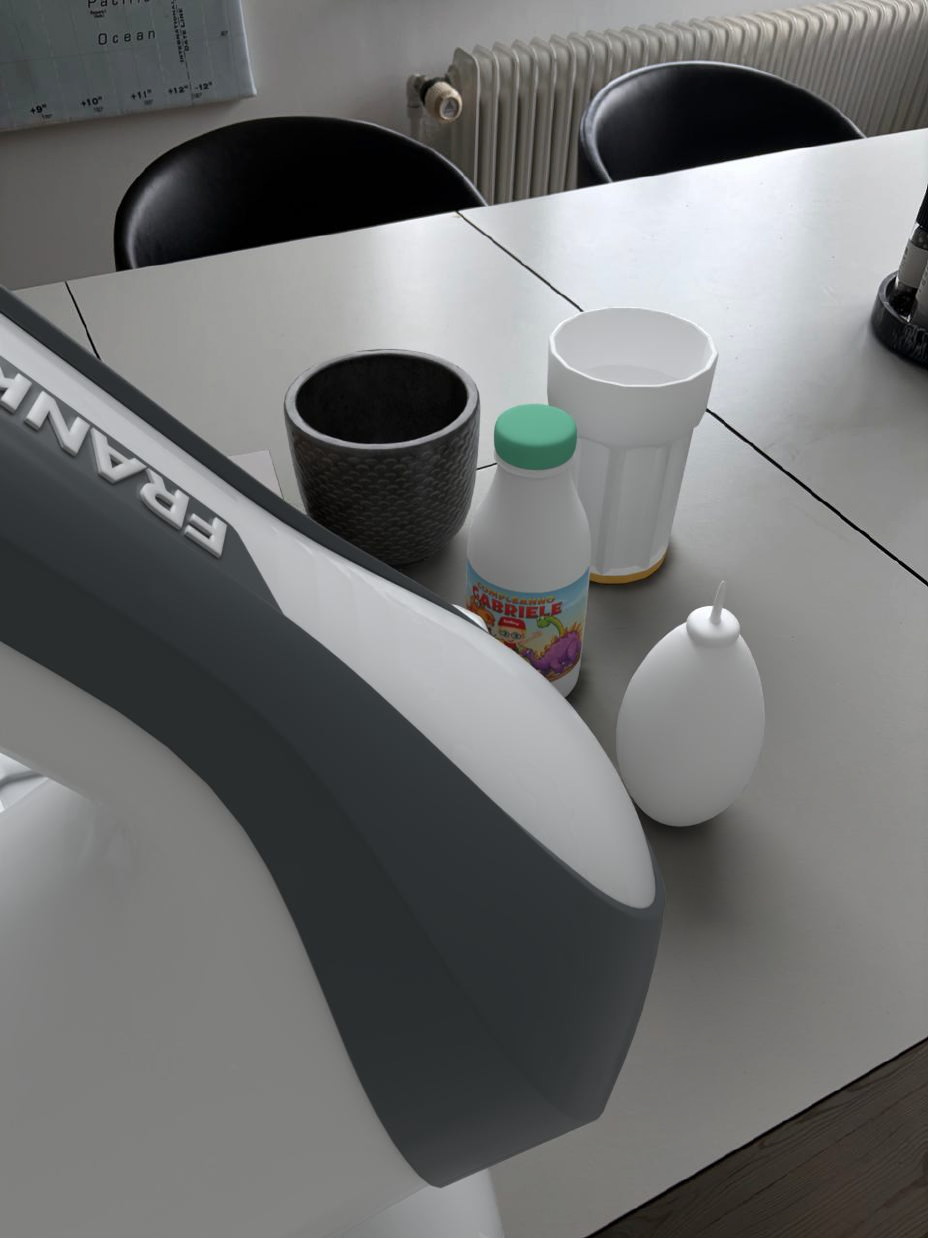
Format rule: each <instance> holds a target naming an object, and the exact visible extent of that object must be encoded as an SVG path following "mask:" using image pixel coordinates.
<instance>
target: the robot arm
mask: <svg viewBox="0 0 928 1238" xmlns="http://www.w3.org/2000/svg"><path fill="white" fill-rule="evenodd" d="M623 783H624V782H623V780H622V779H621V778H620V775H619V773H618V771H617V769H616V768H615V765H614V764H613V763H612V761H611V760H610V758H609V756H608V755H607V753H606V752H605V750H604V748H603V746H602V745H601V744H600V742H599V740H598V738H596V736H595V735H594V733H593V732H592V730H591V729H590V727H589V726H588V725H587V724H586V722H585V721H584V720H583V718H582V717H581V716H580V715H579V714H578V712H577V711H576V709H575V708H574V707H573V706H572V705H571V704H570V703H569V701H568V700H567V699H566V697H565V698H564V697H563V696H562V695H561V694H560V693H559V691H558V690H557V689H556V688H555V687H554V686H553V685H552V684H551V683H550V682H549V681H548V680H547V679H546V678H545V677H544V676H543V675H541V674H540V673H539V672H538V671H537V670H536V669H535V668H533V667H532V666H531V665H530V664H529V663H527V662H526V661H525V660H524V659H523V658H522V657H520V656H519V655H518V654H517V653H516V652H514V651H513V650H511V649H510V648H509V647H507V646H506V645H504V644H503V643H501V642H500V641H498V640H497V639H495V638H494V637H493V636H492V635H491V634H489V632H488V629H487V627H486V625H485V622H484V621H483V619H482V618H481V617H480V616H478V615H476V614H474V613H473V612H471V611H469V610H466V608H464V607H462V606H460V605H457V604H451V603H450V602H448V600H445V599H444V598H443V597H442V596H439V595H438V594H436V593H435V592H433V591H431V590H430V589H429V588H426V586H424V585H422V584H420V583H418V582H417V581H416V580H413V579H412V578H410V577H408V576H407V575H405V574H404V573H402V572H400V571H398V569H393V568H392V567H390V566H388V565H386V564H385V563H383V562H381V561H380V560H378V559H376V558H374V557H373V556H371V555H369V554H367V553H366V552H364V551H362V550H361V549H359V548H357V547H355V546H354V545H352V544H350V543H349V542H347V541H345V540H344V539H342V538H340V537H339V536H337V535H335V534H334V533H332V532H331V531H329V530H327V529H326V528H324V527H323V526H321V525H320V524H318V523H317V522H315V521H314V520H312V519H311V518H309V517H308V516H307V514H305V513H304V512H302V511H301V510H299V509H298V508H296V506H293V504H291V503H290V502H288V501H286V500H285V498H284V499H282V498H281V497H280V496H278V495H277V494H275V493H274V492H273V491H271V490H270V489H269V488H267V487H266V486H265V485H263V484H262V483H261V482H259V481H258V480H257V479H255V478H254V477H253V476H252V475H250V474H249V473H248V472H246V471H245V470H244V469H242V468H241V467H240V466H238V465H237V464H236V463H234V462H233V461H232V460H230V459H229V458H228V456H226V455H225V454H224V453H222V452H221V451H220V450H219V449H217V448H216V447H214V446H213V445H211V444H210V443H209V442H208V441H206V440H205V439H204V438H202V437H201V436H200V435H198V434H197V433H195V432H194V431H193V430H192V429H190V428H189V427H188V426H187V425H185V424H184V423H183V422H182V421H180V420H179V419H178V418H177V417H175V416H174V415H172V414H171V413H170V412H168V411H167V410H166V409H164V408H163V407H162V406H160V404H158V403H157V402H156V401H155V400H153V399H151V398H150V397H149V396H148V395H146V394H145V393H144V392H142V391H141V390H140V389H139V388H138V387H136V386H135V385H134V384H132V383H131V382H130V381H129V380H127V379H126V378H125V377H123V376H122V375H121V374H119V373H118V372H117V371H115V370H114V369H113V368H111V367H110V366H109V365H108V364H107V363H105V362H103V361H102V360H101V359H100V358H98V357H97V356H95V354H93V353H92V352H91V351H90V350H88V349H87V348H85V347H84V346H83V345H82V344H81V343H79V342H78V341H77V340H75V339H74V338H72V337H71V335H69V334H67V333H66V332H65V331H63V330H62V329H61V328H60V327H58V326H57V325H56V324H54V323H53V322H52V321H50V320H49V319H48V318H46V317H45V316H44V315H42V314H41V313H40V312H39V311H38V310H36V309H35V308H33V307H32V306H31V305H29V304H28V303H27V302H25V301H24V300H23V299H22V298H20V297H19V296H18V295H16V293H14V292H13V291H11V290H10V289H9V288H7V287H6V286H5V285H4V284H2V283H1V282H0V1238H506V1236H505V1232H504V1226H503V1222H502V1219H501V1214H500V1209H499V1205H498V1201H497V1196H496V1193H495V1187H494V1184H493V1179H492V1176H491V1171H490V1168H491V1167H493V1166H495V1165H497V1164H500V1163H502V1162H504V1161H507V1160H509V1159H511V1158H513V1157H516V1156H518V1155H520V1154H522V1153H525V1152H527V1151H529V1150H531V1149H535V1148H536V1147H538V1146H540V1145H543V1144H545V1143H548V1142H550V1141H552V1140H554V1139H556V1138H559V1137H561V1136H563V1135H565V1134H568V1133H571V1132H572V1131H574V1130H577V1129H579V1128H582V1127H583V1126H586V1125H588V1124H591V1123H593V1122H595V1121H598V1119H599V1118H601V1116H602V1115H603V1113H604V1111H605V1110H606V1107H607V1104H608V1102H609V1100H610V1098H611V1095H612V1093H613V1090H614V1087H615V1085H616V1084H617V1083H616V1082H617V1081H618V1078H619V1076H620V1073H621V1071H622V1069H623V1066H624V1064H625V1061H626V1059H627V1056H628V1053H629V1051H630V1049H631V1045H632V1042H633V1040H634V1037H635V1034H636V1032H637V1028H638V1026H639V1022H640V1020H641V1016H642V1013H643V1010H644V1006H645V1003H646V1000H647V996H648V992H649V988H650V984H651V980H652V977H653V973H654V968H655V965H656V960H657V956H658V951H659V946H660V941H661V936H662V931H663V923H664V916H665V909H666V904H667V903H666V888H665V883H664V879H663V875H662V871H661V868H660V866H659V863H658V860H657V857H656V855H655V851H654V850H653V848H652V845H651V843H650V841H649V838H648V837H647V835H646V832H645V830H644V828H643V827H642V824H641V820H640V818H639V815H638V813H637V810H636V808H635V806H634V804H633V801H632V799H631V797H630V794H629V792H628V790H627V788H626V786H625V784H623Z"/></svg>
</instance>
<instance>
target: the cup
mask: <svg viewBox="0 0 928 1238" xmlns="http://www.w3.org/2000/svg"><path fill="white" fill-rule="evenodd" d="M547 339H548V341H547V376H546V377H547V379H546V380H547V381H546V396H547V397H546V398H547V405H549V406H553V407H556V408H559V409H561V410H563V411H565V412H566V413H568V414H569V415H570V416H571V417H572V418H573V419H574V421H575V423H576V427H577V442H576V449H575V451H574V452H575V460H574V462H573V464H572V466H571V467H570V473H571V478H572V482H573V485H574V488H575V491H576V493H577V495H578V497H579V500H580V502H581V504H582V506H583V508H584V511H585V513H586V516H587V520H588V523H589V529H590V534H591V564H590V578H589V581H592V582H595V583H598V584H626V583H631V582H635V581H639V580H643V579H646V578H647V577H649V576H650V575H652V574H653V573H654V572H655V571H657V570H658V569H660V567H661V565H662V564H663V562H664V561H665V558H666V556H667V552H668V547H669V543H670V538H671V535H672V530H673V524H674V519H675V516H676V511H677V508H678V507H677V506H678V502H679V498H680V493H681V487H682V483H683V479H684V475H685V470H686V466H687V461H688V457H689V452H690V447H691V444H692V443H691V442H692V438H693V433H694V430H695V428H696V427H699V425H700V423H701V421H702V419H703V417H704V415H705V413H706V411H707V409H708V404H709V399H710V395H711V391H712V387H713V381H714V377H715V373H716V369H717V364H718V360H719V352H718V348H717V345H716V343H715V341H714V338H713V336H711V335H710V334H709V333H708V332H707V331H706V330H704V329H703V328H702V327H701V326H700V325H698V324H697V323H696V322H693V321H691V320H689V319H687V318H684V317H681V316H679V315H676V314H674V313H672V312H669V311H662V310H658V309H652V308H648V307H642V306H605V307H601V308H595V309H590V310H584V311H580V312H579V313H576V314H574V315H572V316H570V317H568V318H566V319H565V320H563V321H561V322H560V323H558V325H557V326H556V327H555V329H554V330H553V331H552V333H551V334H550V335H549V336H548V338H547Z"/></svg>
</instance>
